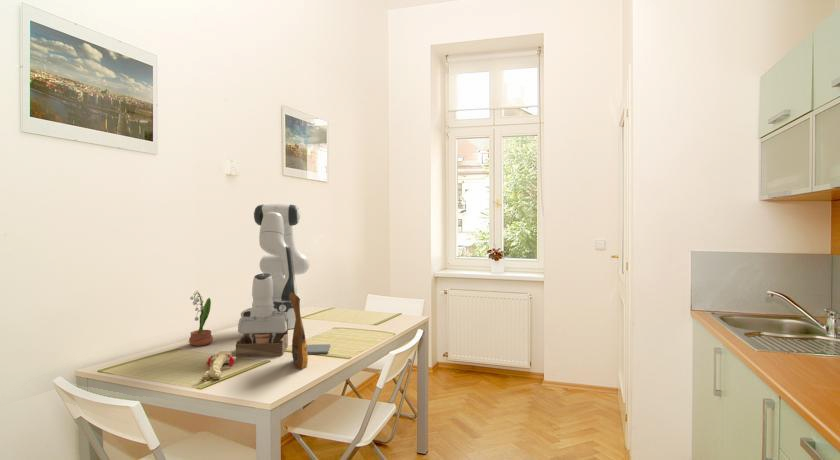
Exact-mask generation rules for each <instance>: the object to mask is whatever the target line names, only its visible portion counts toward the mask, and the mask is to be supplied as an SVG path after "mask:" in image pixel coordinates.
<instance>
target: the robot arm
mask: <svg viewBox="0 0 840 460" xmlns="http://www.w3.org/2000/svg"><path fill="white" fill-rule="evenodd" d="M300 219H301V212H300V209H299V206H297V205H294V204H283V203H276V204H275V203H274V204H259V205H257V206H256V207H255V209H254V211H253V220H254V222H255V224H256V225H258V226H260V228H259V237H258V239H259V240H258V242H259V246H260V248H261V249H262V251H264V252H266V253H267V254H268V255H263V256H262V257H261V258H260V260H259V268H260V272H261V273H258V274H256V275H254V276H253V281H252V288H251V296H252V303H251V307H250V308H246V309H244V310H242V311H241V312H240V318H239V320H238V324H237V332H238V333H239V334H243V335H244V334H249V337H250V338H251V340H252V344H255V339H254V337H253V335H254V333H272V336H273V337H272V338H271V339H269V341H270V342H269V343H273V342H274V337H275V336H276V333H285V332H286V330H287V323H286V321H287V318H288V330H292V329H294V326H295V320H296V318H295V312H294V309H293V306H292V303H291V300H290V297H289V295H290V293H291V292H292V293H293V294H295V295H297V294H298V288H297V287H298V286H297V283H296V277H295V276H298V275H302V274H303V275H304V274H305V273H307V272H308V270H309V268H310V260H309V258H308V257H307V256H306V255H304V254H303V253H302V252H300V251H299V249H298V247H297V246H296V244H295V236H294V228H293V226H296V225H298V224H299V221H300ZM297 296H298V295H297Z"/></svg>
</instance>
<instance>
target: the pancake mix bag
mask: <svg viewBox="0 0 840 460" xmlns="http://www.w3.org/2000/svg"><path fill="white" fill-rule="evenodd" d="M289 297H290V300H291V303H292V306H293V309H294V312H295V318H296V320H295V326H294V328H293V332H292V333H293V334H292V341H291V342H292V343H291V356H292V360H293V364H294V368H295V369H297V370H298V369H299V370H303V369H305V368H307V367H308V363H309V362H308V361H309V358H308V357H309V356H308V355H309V354H308V353H307V345H308V344H307V339H306V335H305V328H304V325H303V321H302V314H301V308H300V307H301V306H300V305H301V304H300V302H301V299H300V297H299V296H298V295H295V294H293V293H292V292H291V293H290V295H289Z"/></svg>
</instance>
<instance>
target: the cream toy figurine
mask: <svg viewBox="0 0 840 460" xmlns="http://www.w3.org/2000/svg"><path fill="white" fill-rule="evenodd" d="M215 356H216V357H215ZM236 360H237V357H236V355H235V356H233V351H231V350H219V351H218V352H217V353H216V354H213V355H211V356H210V357H209V358H208V359H207V361H206V366H207V367H208V368H209V370H207V371H206V372H205V373H204V374H203V377H202V381H204V380H207V381H209V380H210V379H212V380H213V379H220V380H221V376H222V371H221V368H222V367H223V365H224V364H226V363H227V364H229V366H228V367H230V368H231V367H233V366H234V364H235V362H236ZM211 377H213V378H211Z"/></svg>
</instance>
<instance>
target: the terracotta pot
mask: <svg viewBox="0 0 840 460" xmlns="http://www.w3.org/2000/svg"><path fill="white" fill-rule="evenodd" d="M270 336H271V333H255V334H254V337H255V344H266V343H269V342H270V341H269V339H270Z"/></svg>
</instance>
